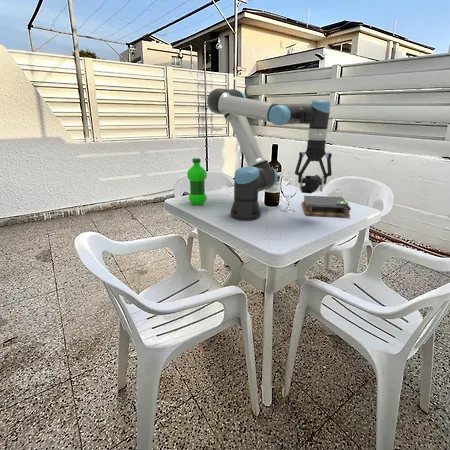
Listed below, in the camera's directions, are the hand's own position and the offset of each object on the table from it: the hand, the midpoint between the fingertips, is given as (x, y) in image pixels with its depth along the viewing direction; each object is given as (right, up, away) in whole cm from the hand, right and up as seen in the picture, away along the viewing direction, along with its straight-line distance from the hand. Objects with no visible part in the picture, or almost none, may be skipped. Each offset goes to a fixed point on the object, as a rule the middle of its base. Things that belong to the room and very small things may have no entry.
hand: (310, 190), depth 135 cm
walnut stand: (+13, -8, +20) cm, 25 cm away
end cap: (0, -1, 0) cm, 1 cm away
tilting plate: (+13, -4, +18) cm, 22 cm away
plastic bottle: (-54, -4, +30) cm, 62 cm away
